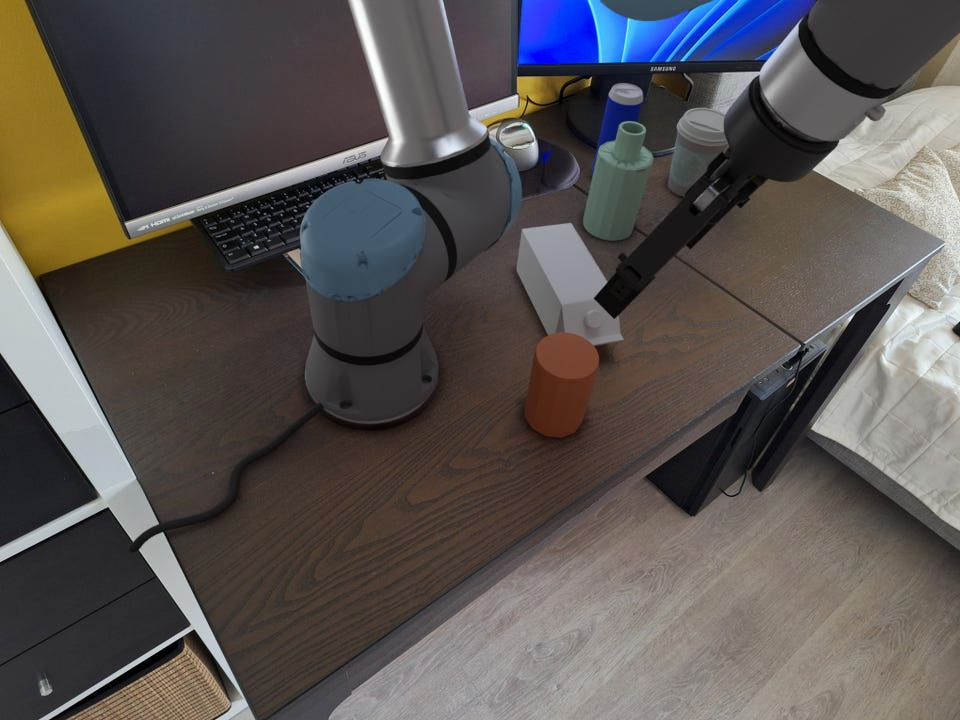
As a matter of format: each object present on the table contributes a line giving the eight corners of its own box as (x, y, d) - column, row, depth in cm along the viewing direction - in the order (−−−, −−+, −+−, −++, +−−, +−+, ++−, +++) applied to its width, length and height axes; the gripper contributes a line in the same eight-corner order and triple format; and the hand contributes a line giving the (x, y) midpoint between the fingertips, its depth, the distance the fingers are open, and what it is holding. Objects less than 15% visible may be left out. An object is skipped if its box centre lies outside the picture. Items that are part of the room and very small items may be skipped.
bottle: (600, 245, 98) (625, 147, 86) (573, 216, 103) (593, 119, 91) (642, 234, 101) (672, 137, 89) (614, 206, 105) (639, 110, 93)
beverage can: (621, 171, 112) (643, 84, 101) (622, 188, 109) (645, 100, 98) (590, 167, 112) (609, 80, 101) (591, 185, 109) (610, 96, 98)
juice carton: (562, 263, 95) (617, 359, 83) (515, 269, 93) (564, 369, 81) (571, 221, 90) (630, 318, 78) (521, 228, 88) (574, 328, 76)
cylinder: (542, 445, 74) (556, 387, 66) (514, 401, 77) (524, 342, 70) (592, 425, 76) (611, 367, 68) (563, 384, 80) (577, 325, 72)
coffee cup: (649, 179, 111) (669, 111, 102) (688, 168, 114) (711, 101, 105) (682, 207, 106) (706, 138, 97) (722, 195, 109) (749, 127, 100)
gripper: (758, 223, 40) (599, 370, 58) (904, 81, 52) (736, 238, 70) (667, 138, 41) (539, 309, 59) (832, 18, 53) (684, 189, 71)
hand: (646, 271), depth 65 cm, fingers open, 13 cm apart
